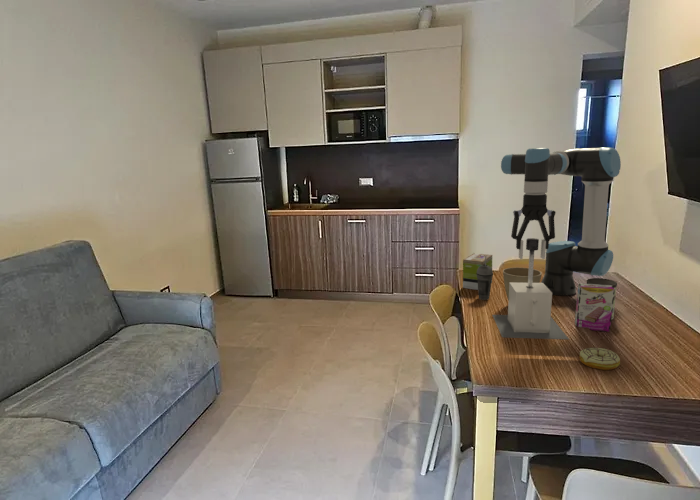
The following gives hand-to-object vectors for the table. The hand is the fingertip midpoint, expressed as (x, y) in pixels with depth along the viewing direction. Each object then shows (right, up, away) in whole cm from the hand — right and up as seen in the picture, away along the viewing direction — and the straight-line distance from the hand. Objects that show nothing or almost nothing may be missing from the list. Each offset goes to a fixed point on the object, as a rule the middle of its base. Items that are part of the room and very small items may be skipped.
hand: (531, 257), depth 155 cm
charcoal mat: (+1, -26, +6) cm, 27 cm away
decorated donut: (+12, -32, -22) cm, 41 cm away
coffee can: (+33, -23, +15) cm, 43 cm away
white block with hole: (+1, -26, +4) cm, 26 cm away
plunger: (+1, -17, +4) cm, 17 cm away
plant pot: (+6, -22, +27) cm, 35 cm away
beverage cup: (-5, -19, +40) cm, 45 cm away
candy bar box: (+24, -26, +4) cm, 36 cm away
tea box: (-2, -15, +59) cm, 61 cm away
